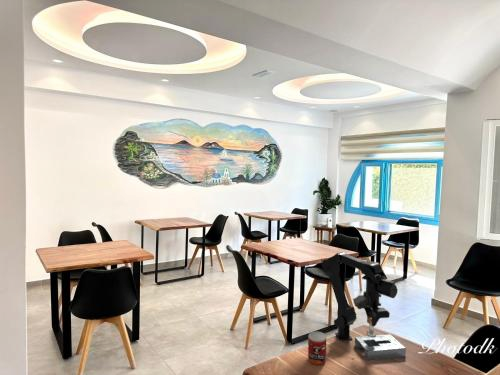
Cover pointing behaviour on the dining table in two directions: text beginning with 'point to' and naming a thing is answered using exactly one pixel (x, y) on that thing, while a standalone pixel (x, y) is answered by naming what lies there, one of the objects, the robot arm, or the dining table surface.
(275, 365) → the dining table surface
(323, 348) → the canned food
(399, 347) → the keyhole plate
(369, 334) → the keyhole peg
